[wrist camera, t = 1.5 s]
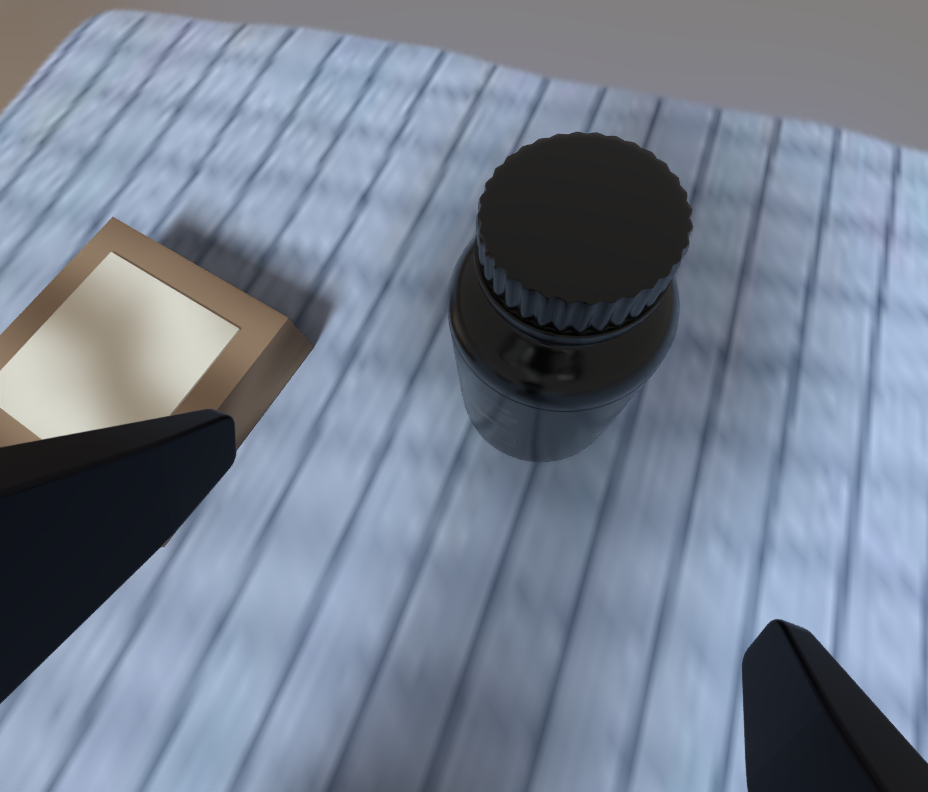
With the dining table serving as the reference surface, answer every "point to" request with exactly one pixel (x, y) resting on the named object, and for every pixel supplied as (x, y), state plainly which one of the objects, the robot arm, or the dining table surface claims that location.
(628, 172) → the supplement bottle
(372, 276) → the dining table surface
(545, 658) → the dining table surface
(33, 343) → the plate
